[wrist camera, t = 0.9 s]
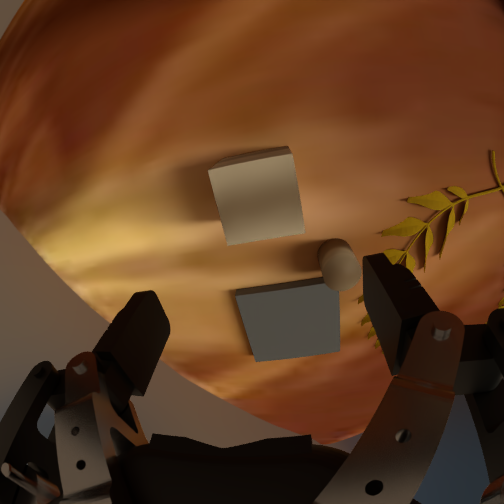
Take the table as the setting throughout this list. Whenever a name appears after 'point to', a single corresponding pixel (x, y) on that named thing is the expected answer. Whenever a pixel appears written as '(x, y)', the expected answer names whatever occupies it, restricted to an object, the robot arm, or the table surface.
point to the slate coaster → (290, 319)
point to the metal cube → (257, 196)
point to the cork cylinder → (338, 265)
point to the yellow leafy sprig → (415, 225)
